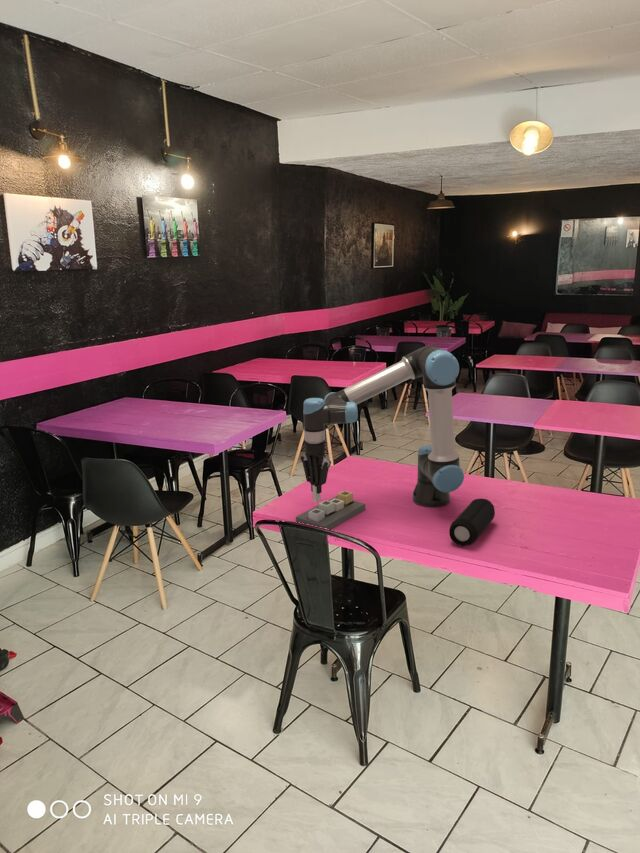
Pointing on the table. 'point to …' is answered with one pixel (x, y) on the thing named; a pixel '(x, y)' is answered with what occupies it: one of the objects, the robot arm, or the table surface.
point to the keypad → (333, 515)
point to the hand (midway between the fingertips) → (316, 500)
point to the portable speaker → (471, 522)
